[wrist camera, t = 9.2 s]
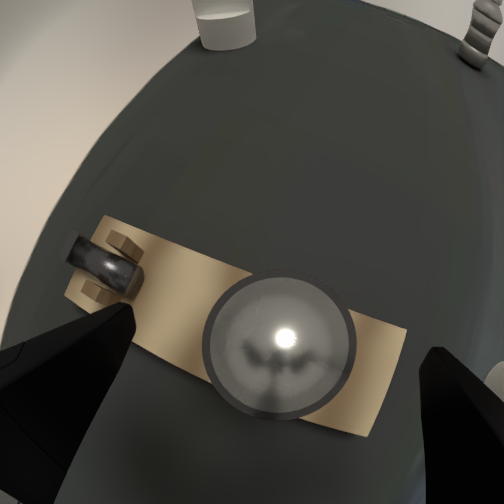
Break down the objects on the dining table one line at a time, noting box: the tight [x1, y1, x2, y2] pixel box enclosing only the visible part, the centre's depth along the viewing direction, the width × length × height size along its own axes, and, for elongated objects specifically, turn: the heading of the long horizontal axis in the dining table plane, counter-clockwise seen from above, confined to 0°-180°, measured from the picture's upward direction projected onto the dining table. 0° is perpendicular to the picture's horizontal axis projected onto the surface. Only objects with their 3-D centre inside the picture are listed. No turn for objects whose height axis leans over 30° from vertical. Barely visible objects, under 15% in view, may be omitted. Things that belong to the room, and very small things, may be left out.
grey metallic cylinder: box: [202, 269, 357, 421], centre depth 15 cm, size 5×5×12 cm
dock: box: [65, 215, 407, 437], centre depth 18 cm, size 26×8×6 cm, turn 67°
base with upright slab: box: [192, 0, 256, 51], centre depth 31 cm, size 9×9×12 cm
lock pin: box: [59, 229, 144, 297], centre depth 19 cm, size 7×2×2 cm, turn 67°
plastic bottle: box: [459, 0, 502, 69], centre depth 24 cm, size 6×7×20 cm
